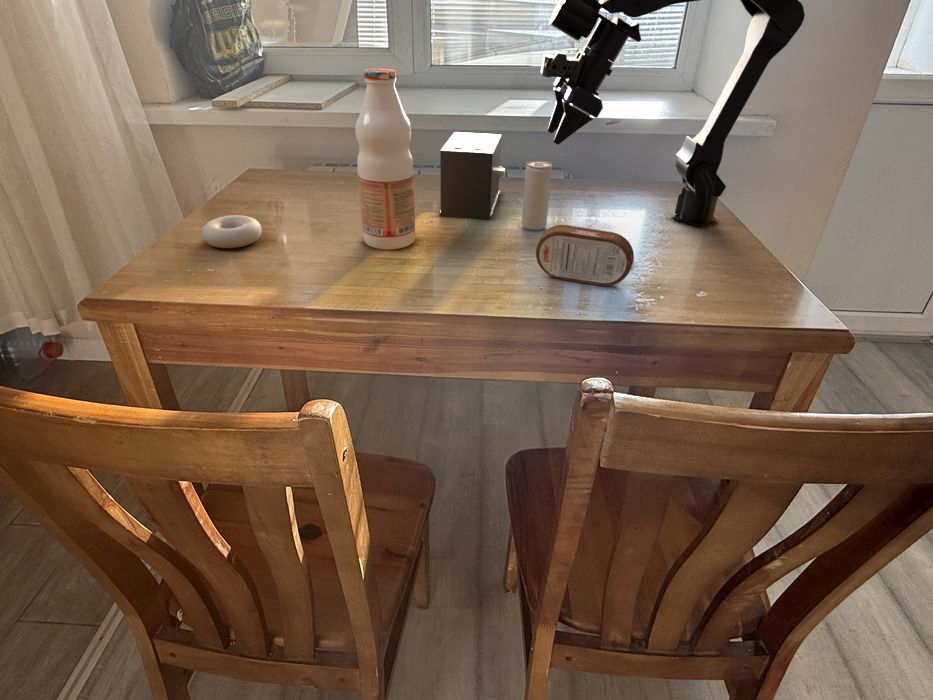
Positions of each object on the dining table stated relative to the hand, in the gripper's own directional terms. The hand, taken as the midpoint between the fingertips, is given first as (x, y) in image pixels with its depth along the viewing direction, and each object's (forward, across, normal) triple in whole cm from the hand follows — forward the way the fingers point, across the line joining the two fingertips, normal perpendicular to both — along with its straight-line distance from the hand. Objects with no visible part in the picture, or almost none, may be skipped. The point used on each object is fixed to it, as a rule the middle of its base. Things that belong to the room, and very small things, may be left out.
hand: (552, 137), depth 108 cm
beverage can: (+15, +6, +4) cm, 17 cm away
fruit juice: (+27, +14, -20) cm, 36 cm away
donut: (+39, +15, -45) cm, 61 cm away
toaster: (+20, -7, -7) cm, 22 cm away
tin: (+13, +29, +9) cm, 33 cm away
